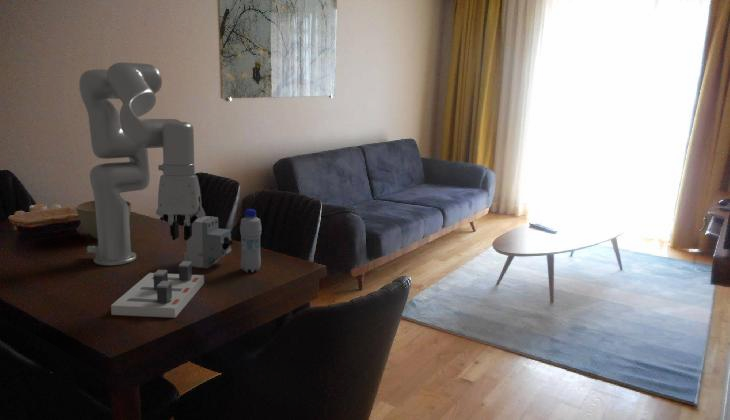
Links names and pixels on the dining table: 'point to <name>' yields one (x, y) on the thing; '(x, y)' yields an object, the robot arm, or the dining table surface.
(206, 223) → the circuit breaker
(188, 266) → the block
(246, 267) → the bottle
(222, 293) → the dining table surface
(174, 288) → the breaker panel
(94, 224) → the olive rounded bowl
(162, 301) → the block
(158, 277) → the block
